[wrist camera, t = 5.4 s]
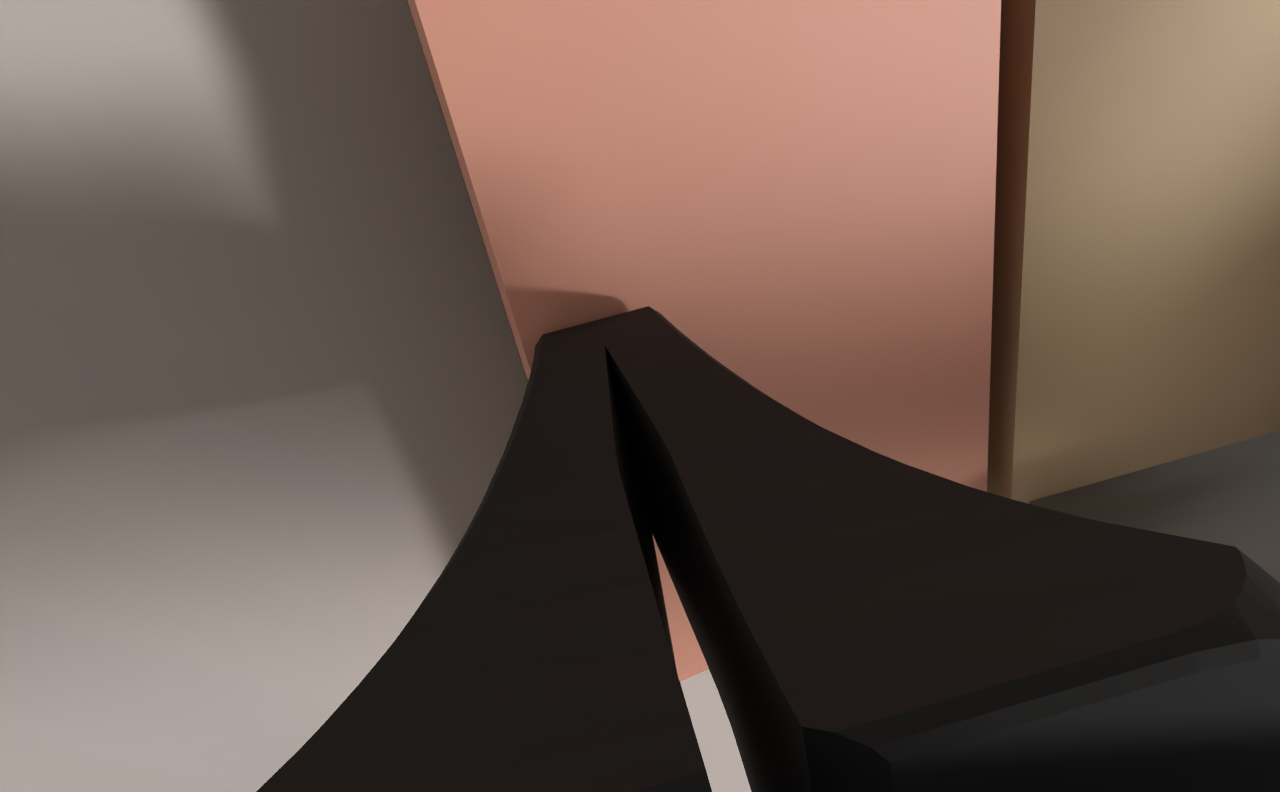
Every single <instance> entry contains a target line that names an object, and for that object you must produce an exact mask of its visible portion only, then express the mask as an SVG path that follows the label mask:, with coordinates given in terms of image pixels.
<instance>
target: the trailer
mask: <svg viewBox="0 0 1280 792" xmlns="http://www.w3.org/2000/svg"><path fill="white" fill-rule="evenodd" d="M987 492H989V493H992V494H996V495H999V496H1002V497H1006V498H1009V499H1013V500H1016V501H1020V502H1024V503H1028V504H1032V505H1036V506H1040V507H1044V508H1048V509H1051V510H1055V511H1059V512H1063V513H1067V514H1071V515H1075V516H1079V517H1083V518H1087V519H1092V520H1096V521H1101V522H1106V523H1111V524H1117V525H1122V526H1128V527H1133V528H1138V529H1144V530H1149V531H1154V532H1160V533H1165V534H1170V535H1176V536H1181V537H1187V538H1192V539H1197V540H1203V541H1208V542H1213V543H1219V544H1224V545H1230V546H1235V547H1237V548H1238V549H1239V550H1240V551H1241V552H1243V553H1244V554H1245V555H1246V556H1248V557H1249V558H1250V559H1251V560H1253V561H1254V562H1255V563H1256V564H1258V565H1259V566H1260V567H1261V568H1262V569H1264V570H1265V571H1266V572H1267V573H1268V574H1270V575H1271V576H1272V577H1273V578H1274V579H1276V580H1277V581H1278V582H1279V583H1280V0H1001V23H1000V58H999V92H998V126H997V160H996V194H995V228H994V262H993V297H992V331H991V365H990V399H989V433H988V467H987Z"/></svg>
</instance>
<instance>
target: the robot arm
mask: <svg viewBox="0 0 1280 792" xmlns="http://www.w3.org/2000/svg"><path fill="white" fill-rule="evenodd" d="M653 536H654V539H655V541H656V543H657V546H658V548H659V551H660V553H661V556H662V558H663V560H664V563H665V565H666V568H667V570H668V572H669V575H670V577H671V579H672V582H673V584H674V587H675V589H676V591H677V594H678V596H679V599H680V601H681V603H682V606H683V608H684V610H685V613H686V615H687V618H688V620H689V622H690V625H691V627H692V629H693V632H694V634H695V637H696V639H697V641H698V644H699V646H700V648H701V651H702V653H703V656H704V658H705V660H706V663H707V665H708V668H709V670H710V672H711V675H712V677H713V679H714V682H715V684H716V687H717V689H718V691H719V694H720V697H721V700H722V702H723V705H724V708H725V710H726V713H727V716H728V718H729V721H730V724H731V727H732V730H733V733H734V736H735V739H736V742H737V746H738V749H739V752H740V755H741V758H742V762H743V765H744V768H745V771H746V775H747V778H748V781H749V784H750V787H751V791H752V792H1280V583H1279V582H1278V581H1277V580H1276V579H1274V578H1273V577H1272V576H1271V575H1270V574H1268V573H1267V572H1266V571H1265V570H1264V569H1262V568H1261V567H1260V566H1259V565H1258V564H1256V563H1255V562H1254V561H1253V560H1251V559H1250V558H1249V557H1248V556H1246V555H1245V554H1244V553H1243V552H1241V551H1240V550H1239V549H1238V548H1237V547H1235V546H1230V545H1224V544H1219V543H1213V542H1208V541H1203V540H1197V539H1192V538H1187V537H1181V536H1176V535H1170V534H1165V533H1160V532H1154V531H1149V530H1144V529H1138V528H1133V527H1128V526H1122V525H1117V524H1111V523H1106V522H1101V521H1096V520H1092V519H1087V518H1083V517H1079V516H1075V515H1071V514H1067V513H1063V512H1059V511H1055V510H1051V509H1048V508H1044V507H1040V506H1036V505H1032V504H1028V503H1024V502H1020V501H1016V500H1013V499H1009V498H1006V497H1002V496H999V495H996V494H992V493H989V492H986V491H982V490H979V489H976V488H972V487H969V486H966V485H963V484H960V483H957V482H954V481H952V480H949V479H946V478H943V477H940V476H937V475H935V474H932V473H929V472H926V471H923V470H921V469H918V468H915V467H912V466H909V465H906V464H904V463H901V462H899V461H896V460H894V459H891V458H889V457H886V456H884V455H881V454H879V453H877V452H874V451H872V450H870V449H868V448H866V447H863V446H861V445H859V444H857V443H855V442H853V441H850V440H848V439H846V438H844V437H842V436H840V435H837V434H835V433H833V432H831V431H829V430H827V429H825V428H823V427H821V426H819V425H817V424H815V423H813V422H812V421H810V420H808V419H806V418H804V417H803V416H801V415H799V414H798V413H796V412H794V411H792V410H791V409H789V408H787V407H786V406H784V405H782V404H781V403H779V402H777V401H776V400H774V399H772V398H771V397H769V396H768V395H766V394H765V393H763V392H762V391H760V390H758V389H757V388H755V387H754V386H752V385H751V384H750V383H748V382H747V381H745V380H744V379H742V378H741V377H740V376H738V375H737V374H735V373H734V372H732V371H731V370H730V369H728V368H727V367H725V366H724V365H722V364H721V363H720V362H718V361H717V360H716V359H714V358H713V357H712V356H710V355H709V354H708V353H706V352H705V351H704V350H703V349H701V348H700V347H699V346H698V345H696V344H695V343H694V342H693V341H691V340H690V339H689V338H688V337H687V336H685V335H684V334H683V333H682V332H681V331H679V330H678V329H677V328H676V327H675V326H674V325H673V324H671V323H670V322H669V321H668V320H667V319H666V318H665V317H664V316H663V315H662V314H661V313H659V312H658V311H656V310H654V309H653V308H651V307H649V306H647V307H644V308H640V309H636V310H632V311H629V312H625V313H621V314H617V315H614V316H610V317H606V318H602V319H599V320H595V321H591V322H587V323H584V324H580V325H576V326H572V327H569V328H565V329H561V330H558V331H554V332H550V333H546V334H543V335H542V336H541V338H540V339H539V341H538V342H537V344H536V345H535V352H534V359H533V364H532V369H531V373H530V377H529V381H528V384H527V388H526V391H525V395H524V398H523V402H522V405H521V407H520V410H519V413H518V416H517V419H516V422H515V424H514V427H513V430H512V433H511V436H510V439H509V441H508V444H507V447H506V449H505V451H504V454H503V456H502V458H501V461H500V463H499V465H498V467H497V470H496V472H495V474H494V476H493V478H492V481H491V483H490V485H489V487H488V490H487V492H486V494H485V496H484V499H483V501H482V503H481V505H480V507H479V509H478V511H477V512H476V514H475V516H474V518H473V520H472V522H471V524H470V526H469V528H468V529H467V531H466V533H465V535H464V537H463V539H462V540H461V542H460V544H459V545H458V547H457V549H456V550H455V552H454V554H453V555H452V557H451V559H450V561H449V562H448V564H447V566H446V567H445V569H444V570H443V572H442V574H441V575H440V577H439V578H438V580H437V581H436V583H435V584H434V586H433V587H432V589H431V590H430V592H429V593H428V594H427V596H426V597H425V599H424V600H423V602H422V603H421V605H420V606H419V608H418V609H417V611H416V612H415V614H414V615H413V616H412V618H411V619H410V621H409V622H408V623H407V625H406V626H405V628H404V629H403V630H402V632H401V633H400V635H399V636H398V637H397V639H396V640H395V641H394V643H393V644H392V645H391V646H390V648H389V649H388V650H387V651H386V653H385V654H384V655H383V656H382V657H381V659H380V660H379V661H378V662H377V663H376V665H375V666H374V667H373V668H372V669H371V671H370V672H369V673H368V674H367V675H366V677H365V678H364V679H363V680H362V681H361V683H360V684H359V685H358V686H357V687H356V688H355V690H354V691H353V692H352V693H351V694H350V695H349V696H348V697H347V699H346V700H345V701H344V702H343V703H342V704H341V705H340V706H339V707H338V709H337V710H336V711H335V712H334V713H333V714H332V715H331V716H330V718H329V719H328V720H327V721H326V722H325V723H324V724H323V725H322V726H321V727H320V729H319V730H318V731H317V732H316V733H315V734H314V735H313V736H312V737H311V738H310V739H309V740H308V741H307V742H306V743H305V744H304V745H303V746H302V748H301V749H300V750H299V751H298V752H297V753H296V754H295V755H294V756H293V757H291V758H290V759H289V760H288V761H287V762H286V763H285V764H284V765H283V766H282V767H281V768H280V769H279V770H278V771H277V772H276V773H275V774H274V775H273V776H272V777H271V778H270V779H269V780H268V781H267V782H266V783H265V784H264V785H263V786H262V787H261V788H260V789H259V790H258V791H257V792H712V790H711V787H710V783H709V780H708V776H707V773H706V769H705V766H704V762H703V759H702V756H701V752H700V749H699V746H698V742H697V739H696V735H695V732H694V729H693V725H692V722H691V719H690V715H689V712H688V708H687V705H686V702H685V698H684V695H683V691H682V688H681V684H680V681H679V678H678V674H677V669H676V663H675V658H674V652H673V646H672V641H671V635H670V629H669V624H668V618H667V613H666V607H665V601H664V596H663V590H662V584H661V579H660V573H659V567H658V562H657V556H656V551H655V545H654V539H653Z"/></svg>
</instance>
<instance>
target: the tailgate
mask: <svg viewBox="0 0 1280 792" xmlns="http://www.w3.org/2000/svg"><path fill="white" fill-rule="evenodd" d="M407 1H408V4H409V7H410V10H411V14H412V17H413V20H414V23H415V26H416V29H417V33H418V36H419V39H420V42H421V45H422V48H423V51H424V55H425V58H426V61H427V64H428V67H429V70H430V74H431V77H432V80H433V83H434V86H435V89H436V92H437V96H438V99H439V102H440V105H441V108H442V111H443V115H444V118H445V121H446V124H447V127H448V130H449V133H450V137H451V140H452V143H453V146H454V149H455V152H456V156H457V159H458V162H459V165H460V168H461V171H462V174H463V178H464V181H465V184H466V187H467V190H468V193H469V197H470V200H471V203H472V206H473V209H474V212H475V215H476V219H477V222H478V225H479V228H480V231H481V234H482V238H483V241H484V244H485V247H486V250H487V253H488V256H489V260H490V263H491V266H492V269H493V272H494V275H495V278H496V282H497V285H498V288H499V291H500V294H501V297H502V301H503V304H504V307H505V310H506V313H507V316H508V319H509V323H510V326H511V329H512V332H513V335H514V338H515V342H516V345H517V348H518V351H519V354H520V357H521V360H522V364H523V367H524V370H525V373H526V376H527V379H528V381H529V377H530V373H531V369H532V364H533V359H534V352H535V345H536V344H537V342H538V341H539V339H540V338H541V336H542V335H543V334H546V333H550V332H554V331H558V330H561V329H565V328H569V327H572V326H576V325H580V324H584V323H587V322H591V321H595V320H599V319H602V318H606V317H610V316H614V315H617V314H621V313H625V312H629V311H632V310H636V309H640V308H644V307H647V306H649V307H651V308H653V309H654V310H656V311H658V312H659V313H661V314H662V315H663V316H664V317H665V318H666V319H667V320H668V321H669V322H670V323H671V324H673V325H674V326H675V327H676V328H677V329H678V330H679V331H681V332H682V333H683V334H684V335H685V336H687V337H688V338H689V339H690V340H691V341H693V342H694V343H695V344H696V345H698V346H699V347H700V348H701V349H703V350H704V351H705V352H706V353H708V354H709V355H710V356H712V357H713V358H714V359H716V360H717V361H718V362H720V363H721V364H722V365H724V366H725V367H727V368H728V369H730V370H731V371H732V372H734V373H735V374H737V375H738V376H740V377H741V378H742V379H744V380H745V381H747V382H748V383H750V384H751V385H752V386H754V387H755V388H757V389H758V390H760V391H762V392H763V393H765V394H766V395H768V396H769V397H771V398H772V399H774V400H776V401H777V402H779V403H781V404H782V405H784V406H786V407H787V408H789V409H791V410H792V411H794V412H796V413H798V414H799V415H801V416H803V417H804V418H806V419H808V420H810V421H812V422H813V423H815V424H817V425H819V426H821V427H823V428H825V429H827V430H829V431H831V432H833V433H835V434H837V435H840V436H842V437H844V438H846V439H848V440H850V441H853V442H855V443H857V444H859V445H861V446H863V447H866V448H868V449H870V450H872V451H874V452H877V453H879V454H881V455H884V456H886V457H889V458H891V459H894V460H896V461H899V462H901V463H904V464H906V465H909V466H912V467H915V468H918V469H921V470H923V471H926V472H929V473H932V474H935V475H937V476H940V477H943V478H946V479H949V480H952V481H954V482H957V483H960V484H963V485H966V486H969V487H972V488H976V489H979V490H982V491H986V492H987V467H988V433H989V399H990V365H991V331H992V297H993V262H994V228H995V194H996V160H997V126H998V92H999V58H1000V23H1001V0H407ZM653 539H654V536H653ZM654 545H655V551H656V556H657V562H658V567H659V573H660V579H661V584H662V590H663V596H664V601H665V607H666V613H667V618H668V624H669V629H670V635H671V641H672V646H673V652H674V658H675V663H676V669H677V674H678V678H679V681H682V680H684V679H686V678H689V677H691V676H693V675H696V674H698V673H700V672H703V671H705V670H707V669H709V668H708V665H707V663H706V660H705V658H704V656H703V653H702V651H701V648H700V646H699V644H698V641H697V639H696V637H695V634H694V632H693V629H692V627H691V625H690V622H689V620H688V618H687V615H686V613H685V610H684V608H683V606H682V603H681V601H680V599H679V596H678V594H677V591H676V589H675V587H674V584H673V582H672V579H671V577H670V575H669V572H668V570H667V568H666V565H665V563H664V560H663V558H662V556H661V553H660V551H659V548H658V546H657V543H656V541H655V539H654Z"/></svg>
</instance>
